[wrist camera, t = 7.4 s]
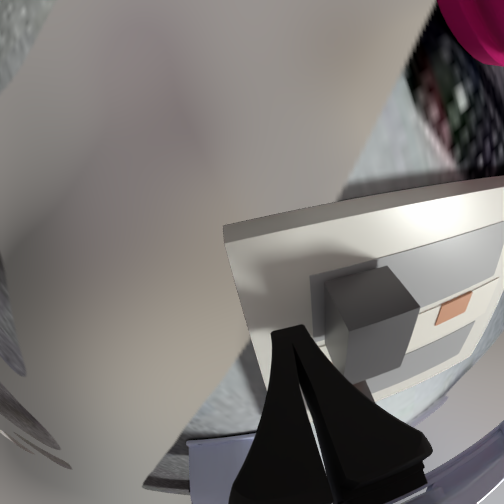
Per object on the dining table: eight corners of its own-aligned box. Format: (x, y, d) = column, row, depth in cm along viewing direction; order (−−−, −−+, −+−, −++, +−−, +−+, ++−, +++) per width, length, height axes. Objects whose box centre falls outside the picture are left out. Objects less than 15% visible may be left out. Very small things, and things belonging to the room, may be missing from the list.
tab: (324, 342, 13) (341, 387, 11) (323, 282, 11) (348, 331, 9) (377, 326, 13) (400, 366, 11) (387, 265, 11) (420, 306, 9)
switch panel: (276, 415, 21) (279, 431, 19) (222, 225, 11) (224, 246, 10) (463, 345, 21) (471, 357, 20) (518, 173, 11) (535, 183, 10)
